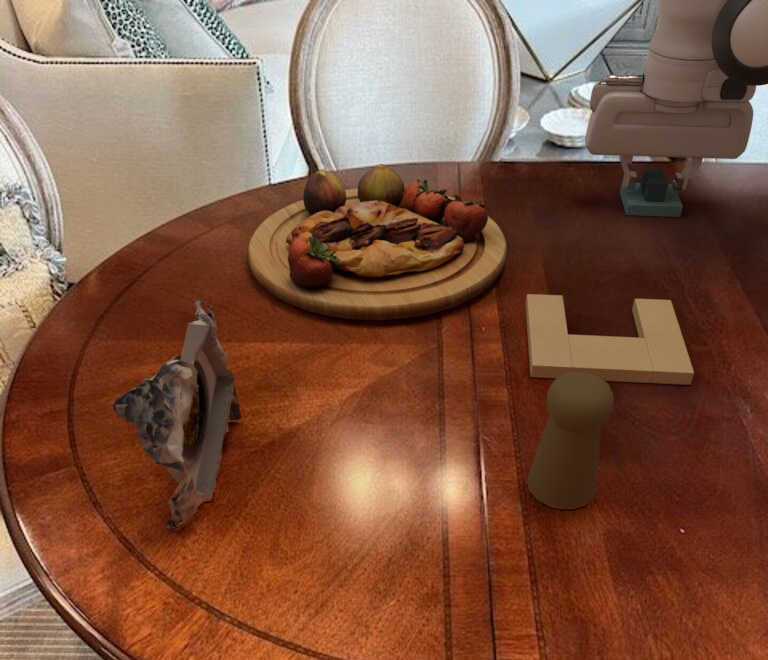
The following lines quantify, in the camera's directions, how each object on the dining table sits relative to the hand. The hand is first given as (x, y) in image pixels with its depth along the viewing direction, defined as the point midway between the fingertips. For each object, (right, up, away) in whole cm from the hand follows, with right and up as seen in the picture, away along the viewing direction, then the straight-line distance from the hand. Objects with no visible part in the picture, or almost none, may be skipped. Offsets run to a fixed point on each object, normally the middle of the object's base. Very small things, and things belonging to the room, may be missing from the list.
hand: (653, 187), depth 106 cm
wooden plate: (-37, -12, -8) cm, 40 cm away
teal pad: (0, -2, +2) cm, 2 cm away
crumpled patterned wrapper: (-53, -41, -36) cm, 76 cm away
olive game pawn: (-21, -42, -38) cm, 60 cm away
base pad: (-13, -26, -22) cm, 36 cm away
